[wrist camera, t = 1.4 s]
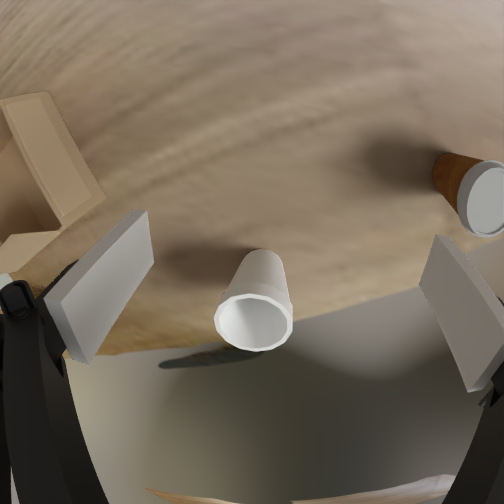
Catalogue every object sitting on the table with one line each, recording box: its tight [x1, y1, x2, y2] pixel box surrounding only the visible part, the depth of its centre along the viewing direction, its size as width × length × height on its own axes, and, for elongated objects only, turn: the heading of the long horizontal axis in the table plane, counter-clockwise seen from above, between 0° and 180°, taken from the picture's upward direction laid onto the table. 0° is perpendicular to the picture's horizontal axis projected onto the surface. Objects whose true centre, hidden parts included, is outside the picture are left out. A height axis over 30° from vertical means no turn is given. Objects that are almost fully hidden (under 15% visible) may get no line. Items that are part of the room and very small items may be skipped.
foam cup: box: [214, 249, 292, 351], centre depth 41 cm, size 10×9×13 cm
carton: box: [0, 91, 107, 246], centre depth 37 cm, size 22×19×11 cm
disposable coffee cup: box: [433, 153, 504, 238], centre depth 30 cm, size 10×10×12 cm
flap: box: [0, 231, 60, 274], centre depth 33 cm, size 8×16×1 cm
